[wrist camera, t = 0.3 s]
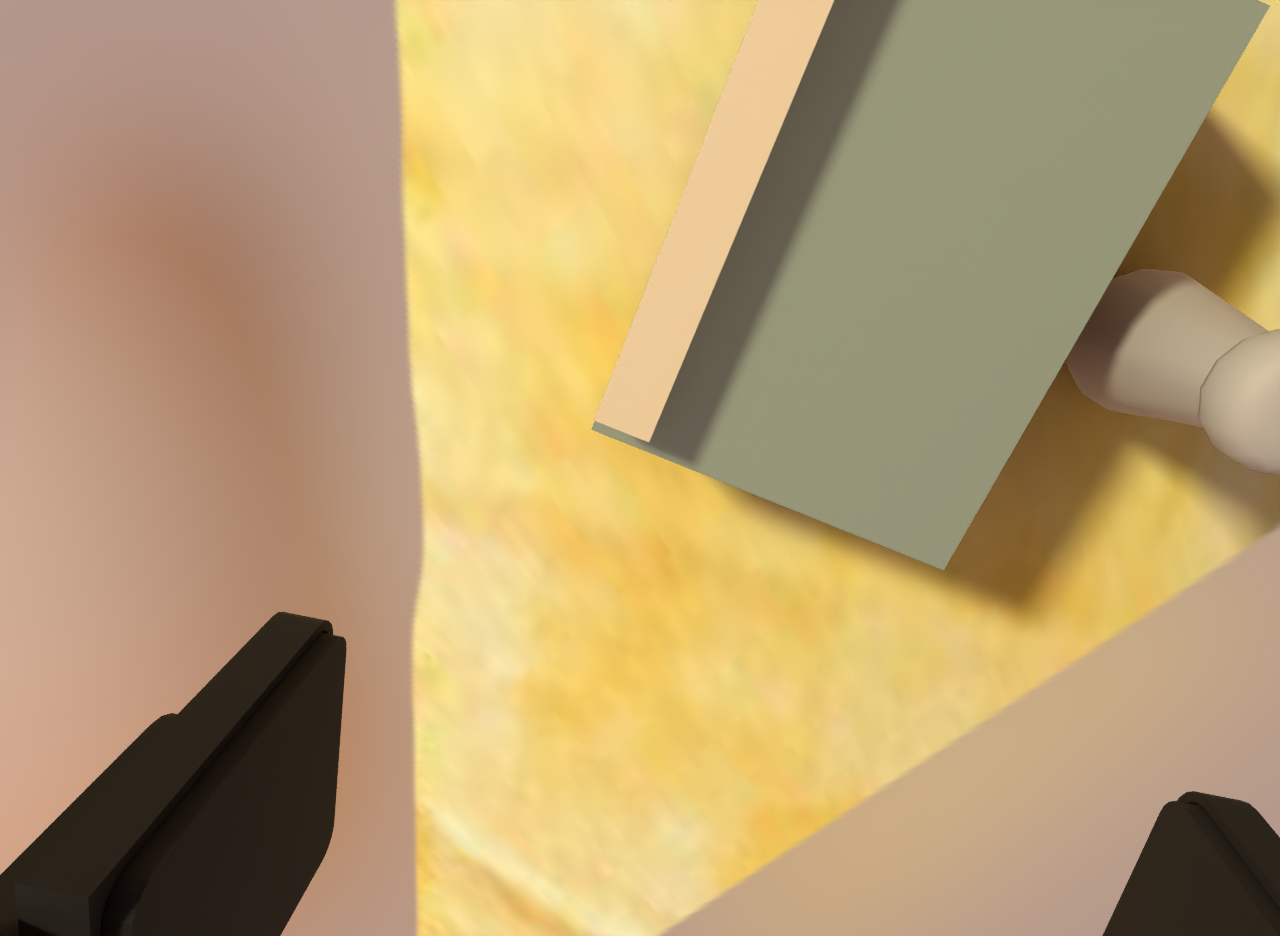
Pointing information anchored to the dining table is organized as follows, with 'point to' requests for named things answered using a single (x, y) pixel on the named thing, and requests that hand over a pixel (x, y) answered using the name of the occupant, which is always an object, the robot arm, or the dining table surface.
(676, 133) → the dining table surface
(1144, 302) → the salt shaker
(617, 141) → the dining table surface
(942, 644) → the dining table surface
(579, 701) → the dining table surface
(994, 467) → the lid
